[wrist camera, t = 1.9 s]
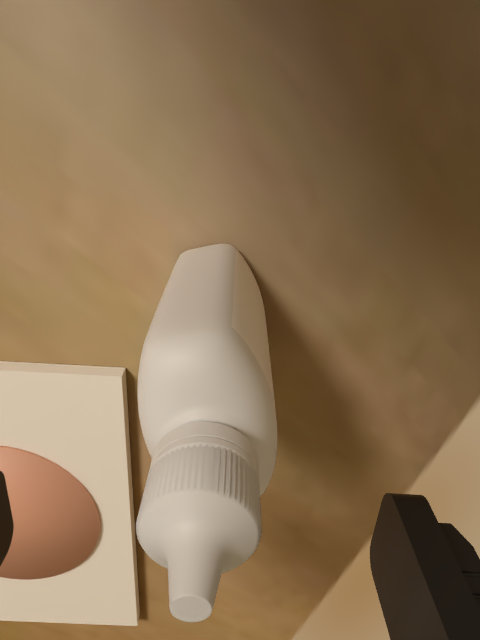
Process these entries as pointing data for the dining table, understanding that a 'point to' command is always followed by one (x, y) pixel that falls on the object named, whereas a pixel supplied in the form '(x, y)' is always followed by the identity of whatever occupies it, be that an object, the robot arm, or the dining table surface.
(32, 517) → the card
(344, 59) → the dining table surface
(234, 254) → the eye dropper bottle
